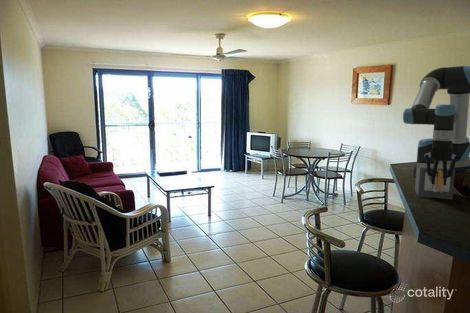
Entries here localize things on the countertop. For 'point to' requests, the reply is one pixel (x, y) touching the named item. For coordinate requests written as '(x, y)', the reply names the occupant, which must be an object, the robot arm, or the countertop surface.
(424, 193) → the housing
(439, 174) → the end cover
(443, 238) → the countertop surface
